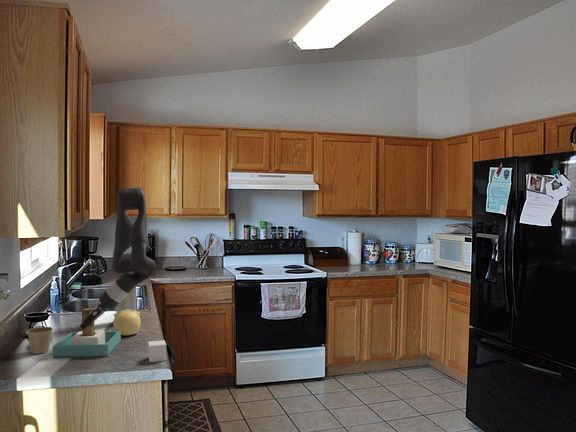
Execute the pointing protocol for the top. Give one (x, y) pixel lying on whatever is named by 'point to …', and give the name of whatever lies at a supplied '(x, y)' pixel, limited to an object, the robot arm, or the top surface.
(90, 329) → the peg
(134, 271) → the robot arm
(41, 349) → the flower pot
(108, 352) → the socket box
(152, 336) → the top surface
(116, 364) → the top surface
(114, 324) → the sculpture
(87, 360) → the top surface
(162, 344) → the light grey cube
